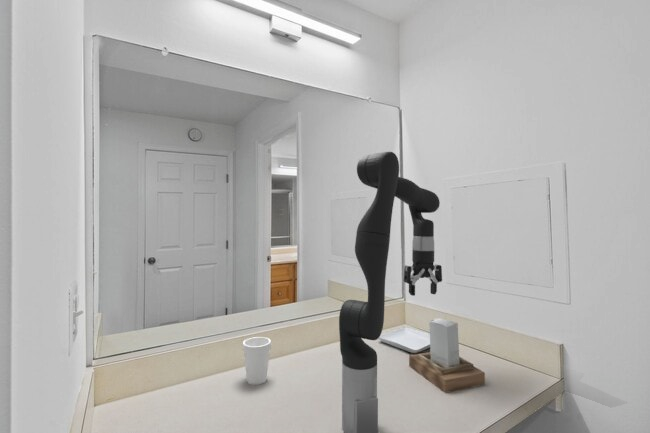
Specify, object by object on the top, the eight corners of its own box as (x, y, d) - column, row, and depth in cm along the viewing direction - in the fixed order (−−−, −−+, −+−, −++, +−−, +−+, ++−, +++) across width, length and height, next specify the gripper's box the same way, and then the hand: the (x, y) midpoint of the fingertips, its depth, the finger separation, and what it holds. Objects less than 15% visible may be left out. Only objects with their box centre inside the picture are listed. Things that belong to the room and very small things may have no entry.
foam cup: (242, 388, 109) (243, 348, 109) (242, 375, 118) (242, 338, 118) (272, 384, 112) (272, 345, 112) (269, 372, 120) (269, 335, 120)
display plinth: (484, 384, 112) (484, 368, 112) (444, 392, 106) (445, 375, 106) (444, 360, 131) (444, 346, 131) (409, 366, 125) (409, 351, 125)
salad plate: (405, 332, 163) (405, 325, 163) (445, 345, 146) (445, 338, 146) (375, 343, 149) (375, 335, 149) (416, 359, 133) (416, 350, 133)
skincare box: (459, 366, 116) (459, 323, 116) (448, 370, 113) (448, 326, 113) (440, 357, 124) (440, 317, 124) (428, 361, 120) (428, 319, 120)
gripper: (411, 250, 114) (411, 298, 114) (446, 249, 119) (446, 295, 119) (400, 248, 122) (399, 293, 121) (433, 247, 126) (433, 291, 126)
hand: (422, 294), depth 120 cm, fingers open, 8 cm apart
